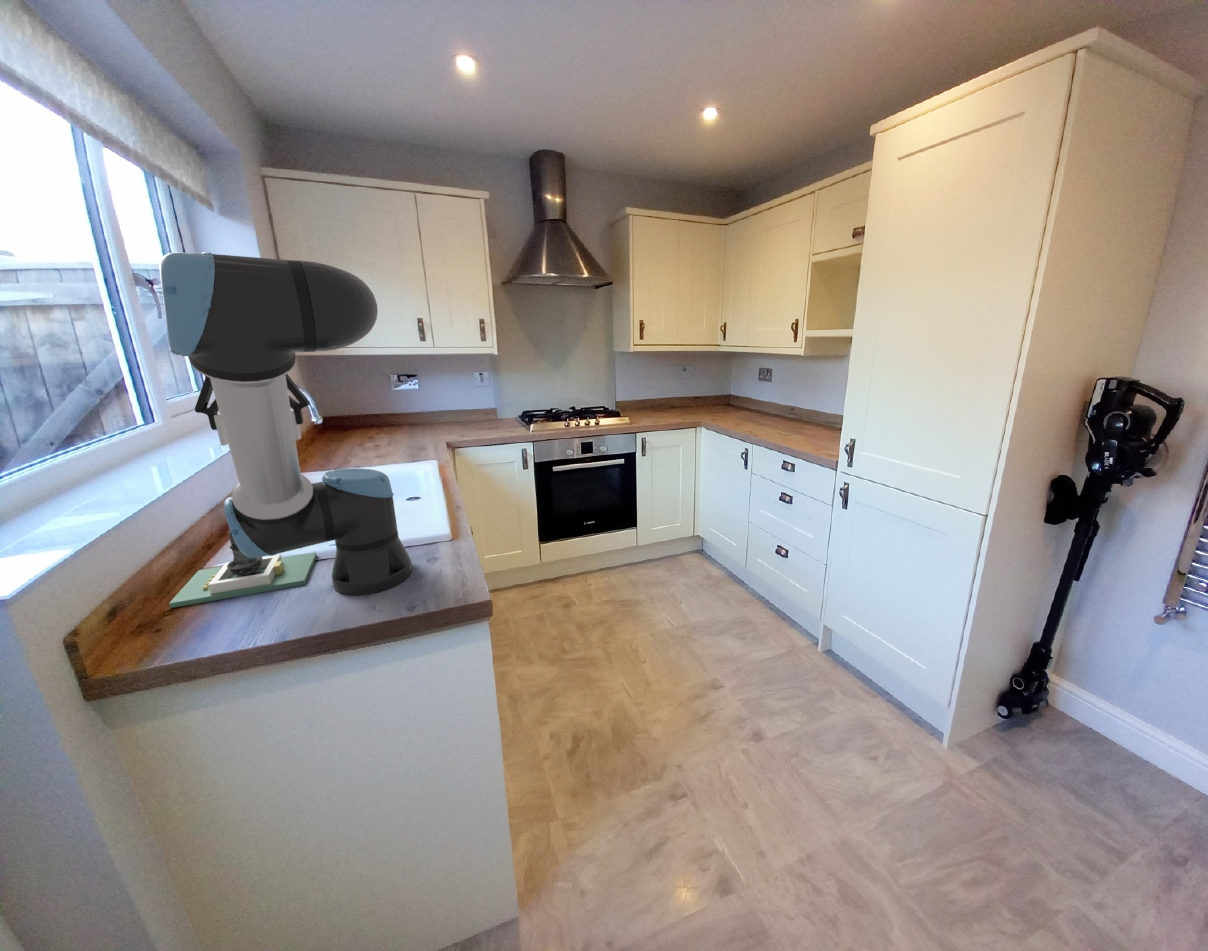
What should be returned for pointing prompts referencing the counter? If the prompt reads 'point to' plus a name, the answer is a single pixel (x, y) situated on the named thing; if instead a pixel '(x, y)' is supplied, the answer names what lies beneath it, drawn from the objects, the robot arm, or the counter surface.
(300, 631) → the counter surface
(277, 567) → the header board
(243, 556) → the dark grey tiered ornament
